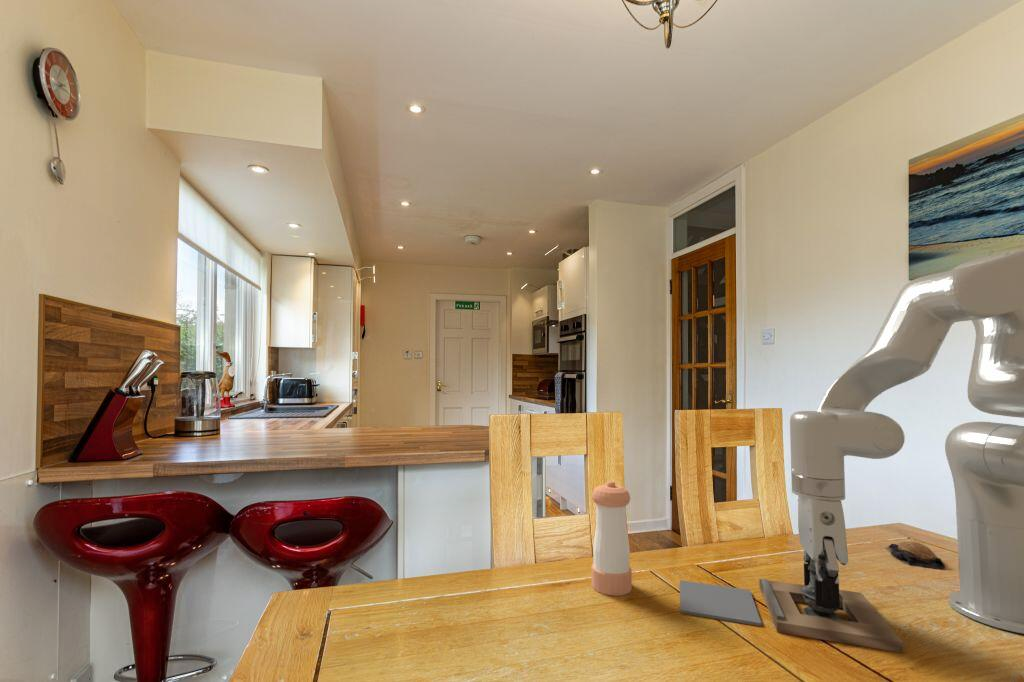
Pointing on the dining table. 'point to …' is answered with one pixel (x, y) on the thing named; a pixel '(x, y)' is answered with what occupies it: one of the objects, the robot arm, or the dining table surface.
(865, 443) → the robot arm
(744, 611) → the slate mat
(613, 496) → the pepper shaker
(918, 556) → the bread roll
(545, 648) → the dining table surface
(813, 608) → the salt shaker
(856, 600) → the brown wooden square frame
